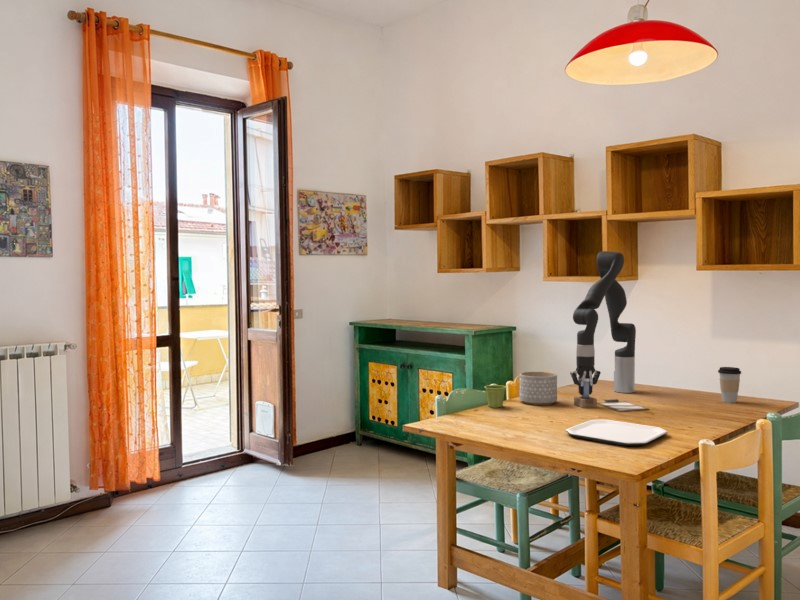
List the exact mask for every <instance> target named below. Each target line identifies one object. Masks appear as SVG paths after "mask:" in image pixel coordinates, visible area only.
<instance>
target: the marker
mask: <svg viewBox="0 0 800 600" xmlns="http://www.w3.org/2000/svg"><path fill="white" fill-rule="evenodd" d="M581 379H582V378H581ZM589 381H590V380H589V378H585V381H584V383H583V387H584V394H583V395H581V396H582V398H583V399H589V396H590V395H589Z"/></svg>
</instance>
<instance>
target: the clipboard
mask: <svg viewBox="0 0 800 600" xmlns="http://www.w3.org/2000/svg"><path fill="white" fill-rule="evenodd" d="M597 406H601V407H604V408H607V409H610V410H613V411H616V412H618V413H623V412H624V413H625V412H638V411H639V412H642V411H650V408H648V407H644V406H640V405H638V404H635V403H632V402H628V401H627V400H624V401H623V400H622V401H620V400H619V399H618V398H616V399H615V398H614V399H604V402H601V401H600V402H597Z"/></svg>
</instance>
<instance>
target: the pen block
mask: <svg viewBox="0 0 800 600" xmlns="http://www.w3.org/2000/svg"><path fill="white" fill-rule="evenodd" d="M597 403H598V399H597V398H596V397H593V396H591V395H589V399H583V398H582V395H580V396H574V397H573V405H574V406H576V407H579V408H581V409H582V408H583V409H586V408H597V407H598V404H597Z"/></svg>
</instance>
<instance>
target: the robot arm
mask: <svg viewBox="0 0 800 600" xmlns="http://www.w3.org/2000/svg"><path fill="white" fill-rule="evenodd" d="M624 265H625V257H624V254H623V253H621V252H619V251H606V250H603V251H599V252H598V253H597V256H596V268H597V271H598V274H599V278H600V279H599V280H596V282H595V283H593V284H592V285H591V286H590V287H589V289H588V290H587V294H586V296H585V298H583V300H582V301H581V302H580V303H579V305H577V307H576V308H575V310H574V311H573V314H572V320H573V322H574V323H575V324H576V325H580V326H585V329H583V330H579V331H577V333H576V353H575V355H576V368H575V370H573V371H570V372H569V373H570V376H571V379H572V382H573V384H574V385H576V386H578V394H579V395H580V396H582V395H583V394H584V387H583V383H584V381H585V378H589V380H590V381H589V396H591V395H592V394H593V387H594V385H597V383H598V380H599V378H600V375H601V371H600V370H596V368H595V354H596V353H595V352H596V351H595V350H596V349H595V332H596V329H597V326H598V322H599V313H598V312H597V309H598V308H600V306H601V304H602V302H603V300H605V304H606V309H607V312H608V317H609V324H610V333H611V339H612V341H614V342H617V343H627V344H626V345H625V346H624V347H621V348H617V349H616V350H614V371H613V391H614V392H617V393H622V394H623V393H624V394H631V393H635V389H636V388H635V386H636V383H635V379H636V377H635V374H636V370H635V369H636V367H635V366H636V359H635V358H636V354H635V353H636V352H635V351H636V335H637V334H636V333H637V329H636V326H635V324H634V323H630V322H629V323H627V322H626V323H625V322H619V318H620V316H621V315H622V313H623V312H624V310H625V309H626V307H627V303H628V300H627V295H626V290H625V289H624V287H623V286H622V285H621V284H620V283H619V282H618V281H617V278H618V276H619V275H620V273H621V271H622V270H623V268H624ZM577 376H578V377H577ZM581 378H582V379H581Z"/></svg>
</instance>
